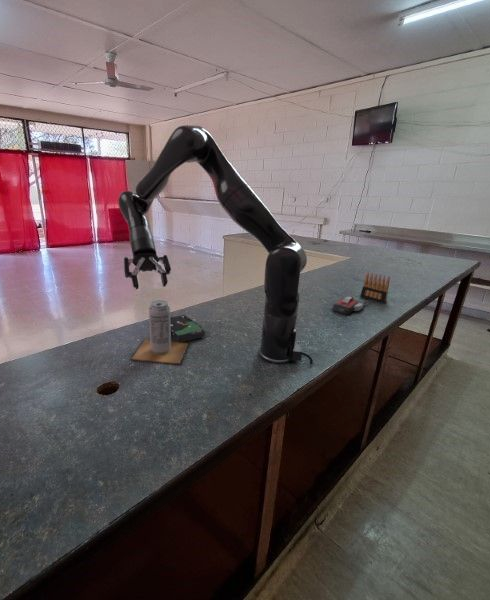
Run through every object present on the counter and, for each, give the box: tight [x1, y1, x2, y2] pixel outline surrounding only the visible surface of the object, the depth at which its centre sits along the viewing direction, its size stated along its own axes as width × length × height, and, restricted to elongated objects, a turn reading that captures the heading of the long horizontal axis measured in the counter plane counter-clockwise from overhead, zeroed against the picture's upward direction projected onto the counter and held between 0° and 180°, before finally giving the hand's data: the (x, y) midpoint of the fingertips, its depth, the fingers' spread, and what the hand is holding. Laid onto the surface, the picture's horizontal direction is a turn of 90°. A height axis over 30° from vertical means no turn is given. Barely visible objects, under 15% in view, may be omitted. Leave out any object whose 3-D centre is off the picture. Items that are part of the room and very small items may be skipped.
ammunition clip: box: [359, 271, 391, 304], centre depth 141 cm, size 11×2×12 cm, turn 42°
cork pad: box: [131, 338, 189, 365], centre depth 94 cm, size 14×12×1 cm
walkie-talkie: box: [332, 295, 369, 315], centre depth 132 cm, size 9×4×20 cm
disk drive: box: [170, 314, 206, 343], centre depth 107 cm, size 10×3×15 cm
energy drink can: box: [148, 300, 172, 354], centre depth 92 cm, size 6×6×15 cm
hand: (151, 286), depth 97 cm, fingers open, 8 cm apart
